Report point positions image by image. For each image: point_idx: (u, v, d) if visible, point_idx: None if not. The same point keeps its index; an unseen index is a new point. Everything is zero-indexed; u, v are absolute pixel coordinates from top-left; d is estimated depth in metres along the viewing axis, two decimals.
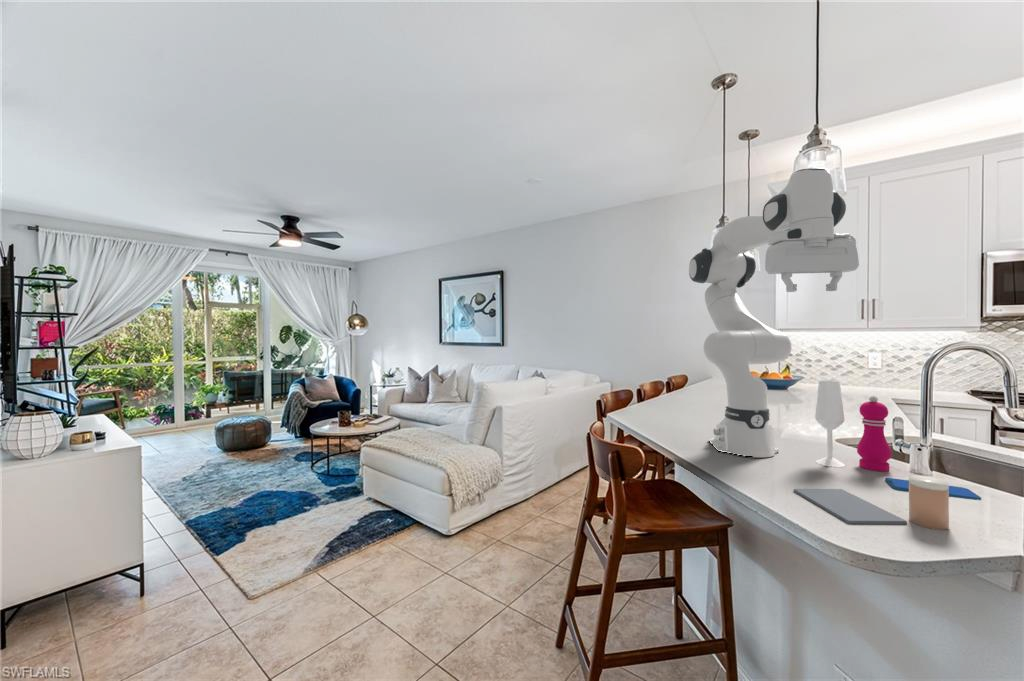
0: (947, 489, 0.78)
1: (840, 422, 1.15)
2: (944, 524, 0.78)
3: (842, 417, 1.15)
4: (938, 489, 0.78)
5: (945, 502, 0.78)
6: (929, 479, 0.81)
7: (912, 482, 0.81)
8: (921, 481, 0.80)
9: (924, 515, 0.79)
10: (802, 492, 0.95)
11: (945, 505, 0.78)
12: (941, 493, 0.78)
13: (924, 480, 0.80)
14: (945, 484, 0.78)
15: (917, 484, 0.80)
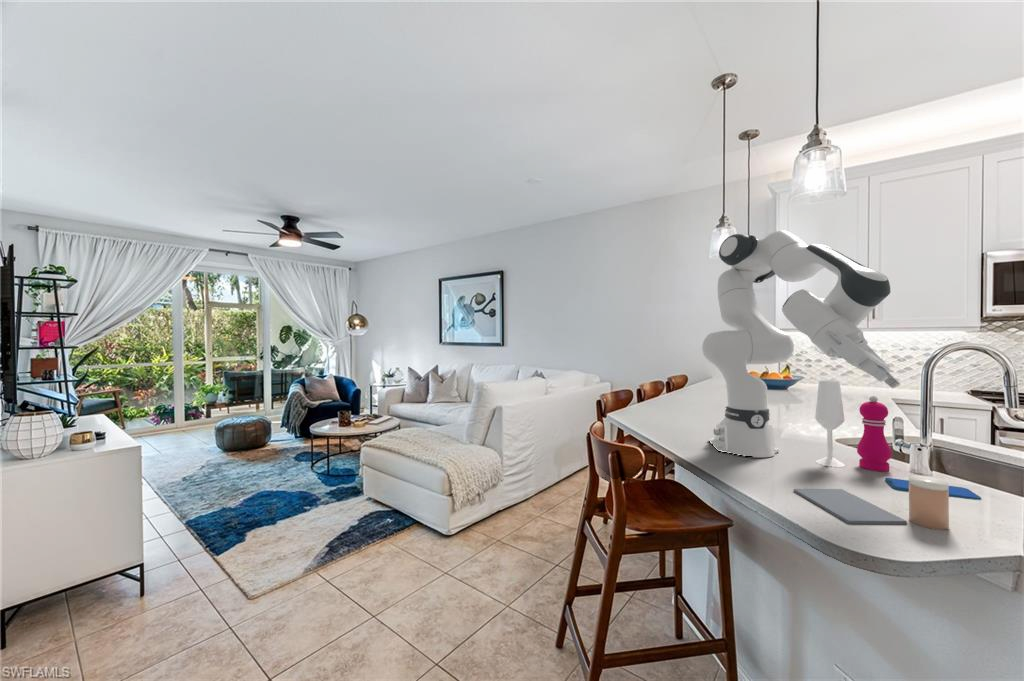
0: (947, 489, 0.78)
1: (840, 422, 1.15)
2: (944, 524, 0.78)
3: (842, 417, 1.15)
4: (938, 489, 0.78)
5: (945, 502, 0.78)
6: (929, 479, 0.81)
7: (912, 482, 0.81)
8: (921, 481, 0.80)
9: (924, 515, 0.79)
10: (802, 492, 0.95)
11: (945, 505, 0.78)
12: (941, 493, 0.78)
13: (924, 480, 0.80)
14: (945, 484, 0.78)
15: (917, 484, 0.80)
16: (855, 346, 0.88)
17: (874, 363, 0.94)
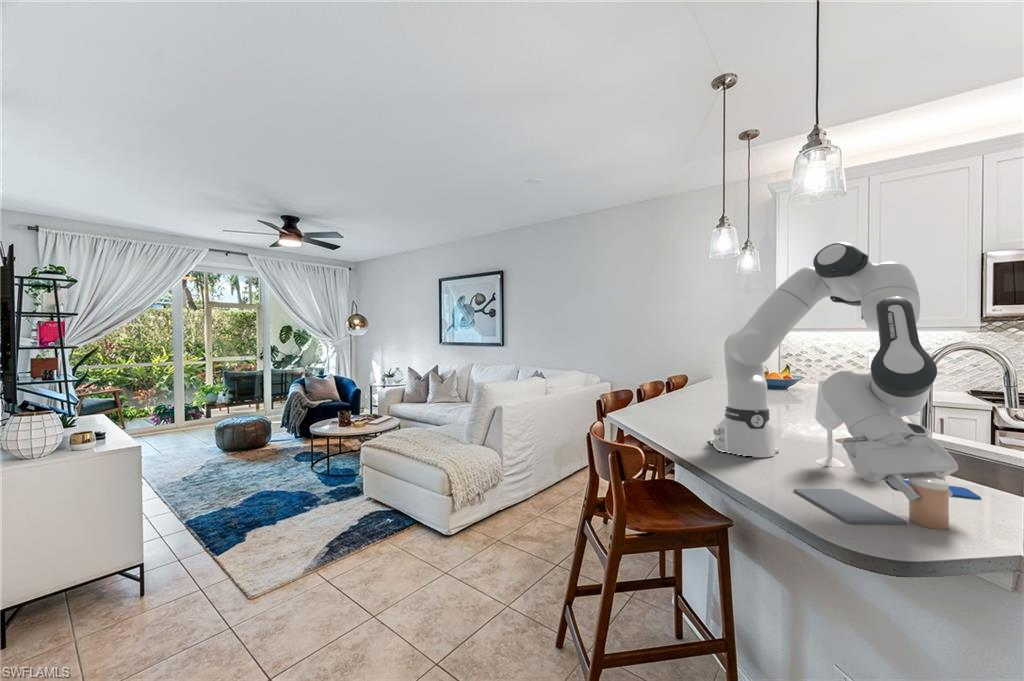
0: (947, 489, 0.78)
1: (840, 422, 1.15)
2: (944, 524, 0.78)
3: None
4: (938, 489, 0.78)
5: (945, 502, 0.78)
6: (929, 479, 0.81)
7: (912, 482, 0.81)
8: (921, 481, 0.80)
9: (924, 514, 0.79)
10: (802, 492, 0.95)
11: (945, 505, 0.78)
12: (941, 493, 0.78)
13: (924, 480, 0.80)
14: (945, 484, 0.78)
15: (917, 484, 0.80)
16: (867, 463, 0.82)
17: None
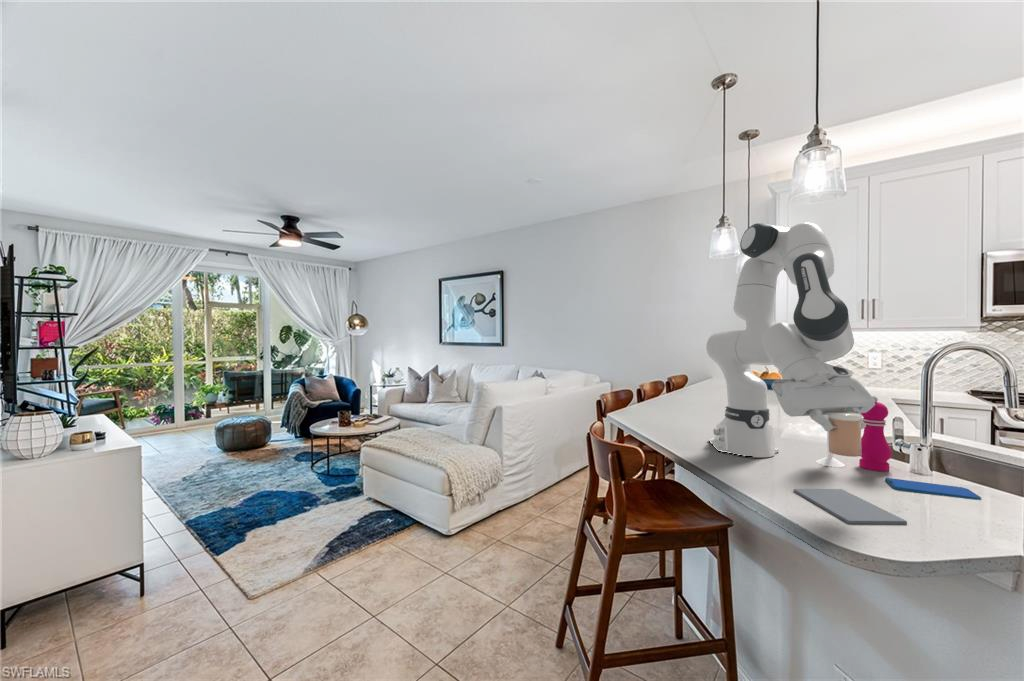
0: (859, 420, 0.86)
1: None
2: (856, 451, 0.86)
3: None
4: (850, 420, 0.86)
5: (857, 431, 0.86)
6: (846, 413, 0.89)
7: (829, 416, 0.89)
8: (837, 414, 0.88)
9: (839, 444, 0.87)
10: (802, 492, 0.95)
11: (857, 435, 0.86)
12: (853, 423, 0.86)
13: (840, 413, 0.88)
14: (857, 415, 0.86)
15: (833, 417, 0.88)
16: (789, 400, 0.91)
17: None
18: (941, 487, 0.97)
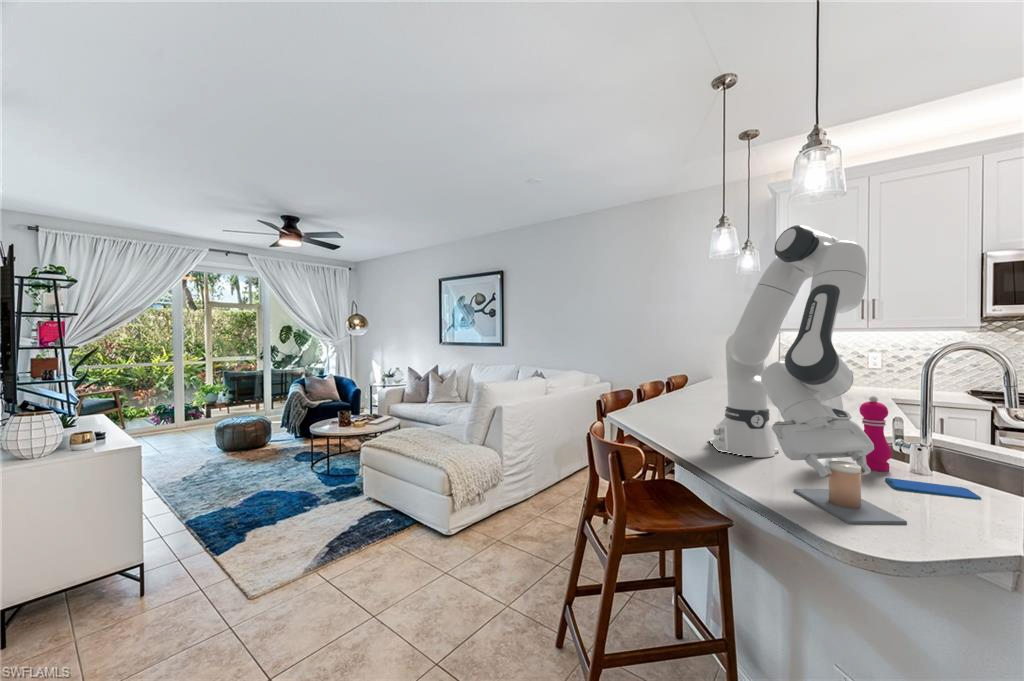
0: (859, 472, 0.86)
1: None
2: (856, 504, 0.86)
3: None
4: (851, 472, 0.86)
5: (857, 484, 0.86)
6: (846, 463, 0.89)
7: (830, 466, 0.89)
8: (837, 465, 0.88)
9: (839, 495, 0.87)
10: (802, 492, 0.95)
11: (857, 487, 0.86)
12: (853, 475, 0.86)
13: (841, 464, 0.89)
14: (857, 467, 0.86)
15: (834, 468, 0.88)
16: (790, 444, 0.91)
17: None
18: (941, 487, 0.97)
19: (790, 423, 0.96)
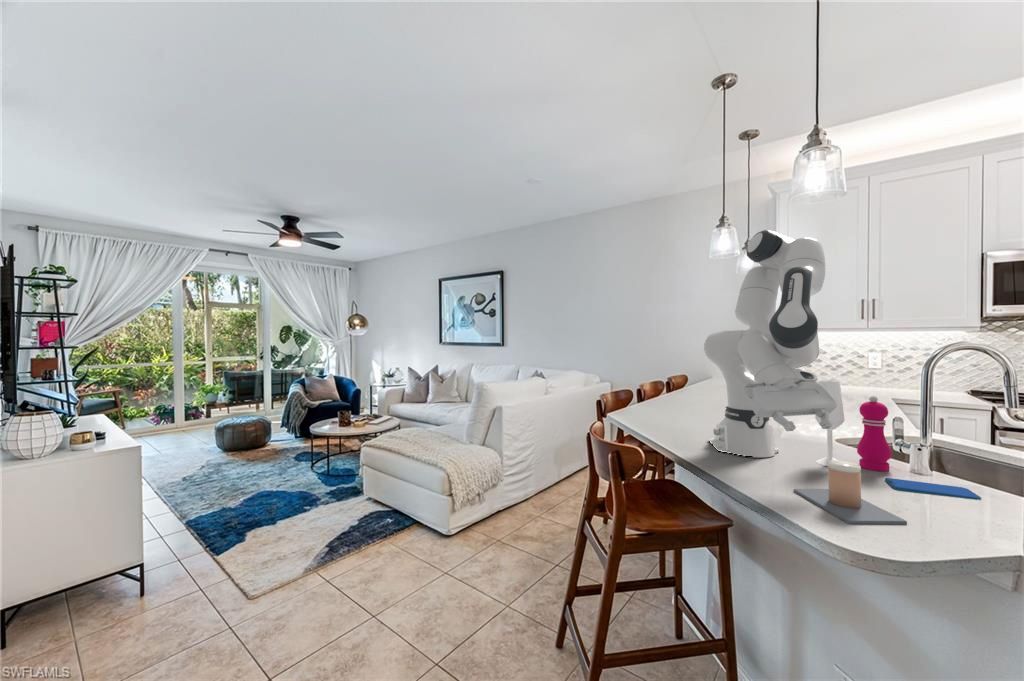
0: (859, 472, 0.86)
1: (840, 422, 1.15)
2: (856, 503, 0.86)
3: (842, 417, 1.15)
4: (851, 471, 0.86)
5: (857, 483, 0.86)
6: (845, 463, 0.89)
7: (830, 466, 0.89)
8: (837, 465, 0.88)
9: (839, 495, 0.87)
10: (802, 492, 0.95)
11: (857, 486, 0.86)
12: (853, 475, 0.86)
13: (840, 464, 0.89)
14: (857, 467, 0.86)
15: (834, 467, 0.88)
16: (759, 402, 1.00)
17: None
18: (941, 487, 0.97)
19: (760, 385, 1.05)
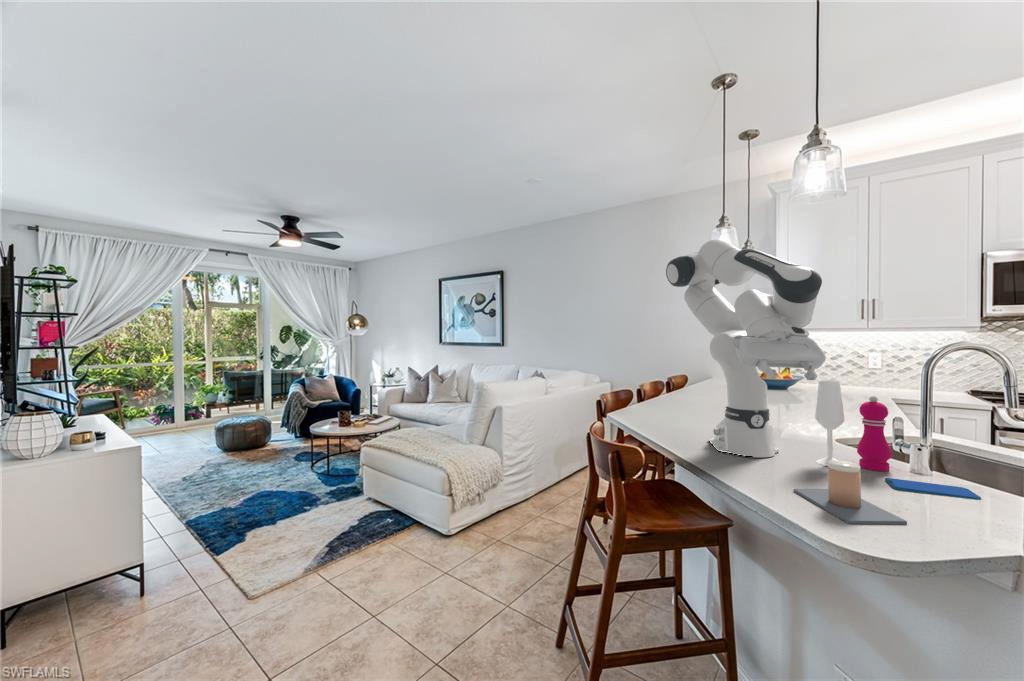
0: (859, 471, 0.86)
1: (840, 422, 1.15)
2: (856, 503, 0.86)
3: (842, 417, 1.15)
4: (850, 471, 0.86)
5: (857, 483, 0.86)
6: (845, 463, 0.89)
7: (829, 466, 0.89)
8: (837, 465, 0.88)
9: (839, 495, 0.87)
10: (802, 492, 0.95)
11: (857, 486, 0.86)
12: (853, 475, 0.86)
13: (840, 464, 0.89)
14: (857, 467, 0.87)
15: (833, 467, 0.88)
16: (744, 350, 1.02)
17: None
18: (941, 487, 0.97)
19: None
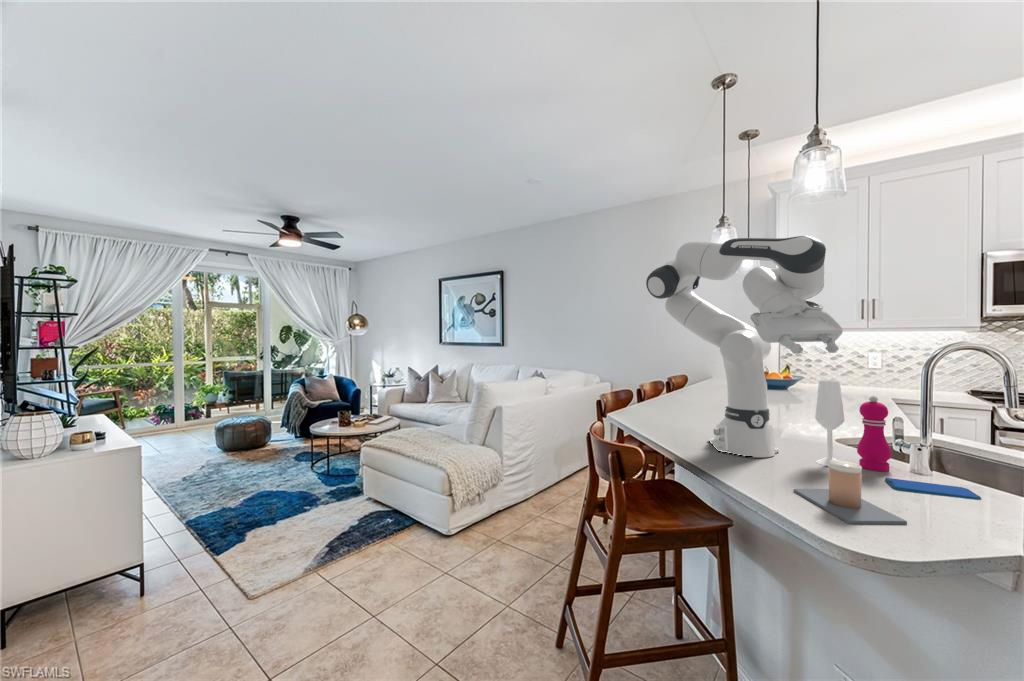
0: (860, 472, 0.86)
1: (840, 422, 1.15)
2: (856, 503, 0.86)
3: (842, 417, 1.15)
4: (852, 472, 0.86)
5: (858, 484, 0.86)
6: (846, 463, 0.89)
7: (831, 466, 0.89)
8: (838, 465, 0.88)
9: (840, 495, 0.87)
10: (802, 492, 0.95)
11: (858, 487, 0.86)
12: (854, 475, 0.86)
13: (841, 464, 0.88)
14: (858, 468, 0.86)
15: (835, 468, 0.88)
16: (766, 327, 1.00)
17: None
18: (941, 487, 0.97)
19: None
